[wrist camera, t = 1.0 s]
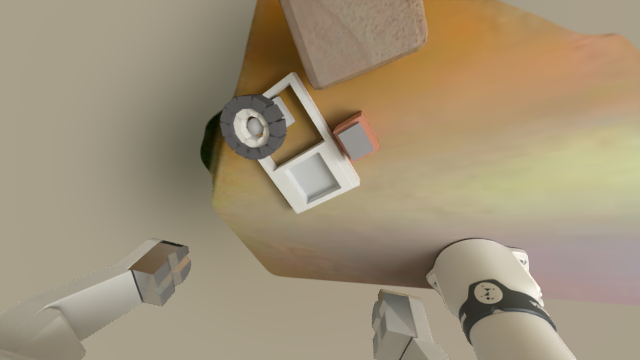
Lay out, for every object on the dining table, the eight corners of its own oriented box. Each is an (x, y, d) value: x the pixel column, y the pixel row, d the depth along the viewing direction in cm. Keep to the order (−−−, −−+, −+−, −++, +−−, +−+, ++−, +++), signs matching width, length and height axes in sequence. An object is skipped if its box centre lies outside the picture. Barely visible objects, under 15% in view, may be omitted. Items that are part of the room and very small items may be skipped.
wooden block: (337, 84, 38) (310, 95, 20) (315, 16, 34) (259, -44, 17) (399, 58, 35) (434, 44, 17) (382, -19, 31) (401, -139, 13)
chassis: (360, 179, 44) (358, 202, 36) (300, 207, 49) (287, 233, 41) (295, 72, 38) (276, 72, 30) (235, 117, 43) (206, 128, 35)
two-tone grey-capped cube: (378, 140, 40) (380, 151, 35) (353, 154, 42) (351, 166, 37) (361, 110, 39) (361, 117, 33) (336, 125, 41) (331, 134, 35)
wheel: (297, 136, 34) (292, 141, 32) (254, 162, 37) (246, 169, 35) (262, 81, 32) (253, 82, 29) (219, 115, 35) (208, 118, 33)
